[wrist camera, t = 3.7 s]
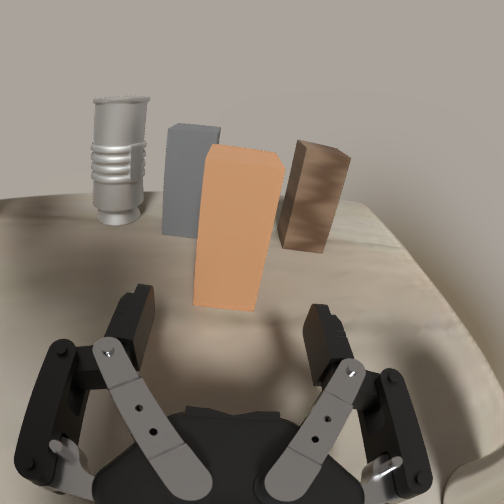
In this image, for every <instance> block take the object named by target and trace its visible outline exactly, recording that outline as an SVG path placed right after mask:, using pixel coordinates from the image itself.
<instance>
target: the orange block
mask: <svg viewBox="0 0 504 504" xmlns="http://www.w3.org/2000/svg"><path fill="white" fill-rule="evenodd" d="M284 174H285V168H284V166H283V164H282V162H281V161H280V159H279V157H278V156H277V154H276V153H274V152H268V151H262V150H256V149H249V148H242V147H235V146H227V145H219V144H212V146H211V148H210V150H209V152H208V154H207V156H206V159H205V167H204V176H203V185H202V195H201V205H200V215H199V226H198V238H197V251H196V265H195V281H194V299H193V305H196V306H204V307H213V308H222V309H232V310H242V311H254V307H255V303H256V299H257V294H258V290H259V286H260V281H261V277H262V273H263V268H264V264H265V260H266V255H267V251H268V246H269V242H270V238H271V233H272V229H273V224H274V220H275V215H276V211H277V206H278V202H279V197H280V192H281V188H282V183H283V179H284Z"/></svg>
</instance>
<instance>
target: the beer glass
mask: <svg viewBox="0 0 504 504" xmlns="http://www.w3.org/2000/svg"><path fill="white" fill-rule="evenodd" d="M443 504H504V443H502V444H501V445H500V446H499V447H497V448H496V449H495V450H494V451H492V452H490V453H489V454H487V455H485V456H484V457H481V458H479V459H477V460H474V461H471V462H469V463H466V464H464V465H462V466H460V467H459V468H458V469H457V470H456V471H455V472H454V473H453V474H452V475H451V477H450V478H449V480H448V482H447V485H446V487H445V491H444V495H443Z"/></svg>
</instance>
